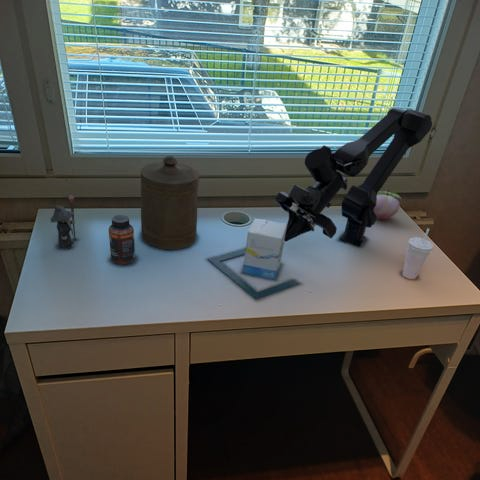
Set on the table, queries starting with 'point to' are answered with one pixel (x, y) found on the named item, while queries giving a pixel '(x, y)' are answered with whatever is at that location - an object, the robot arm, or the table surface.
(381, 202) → the decorative fruit
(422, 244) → the smoothie
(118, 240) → the supplement bottle
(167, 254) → the table surface
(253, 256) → the ink box
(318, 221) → the robot arm
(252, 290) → the frame
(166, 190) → the wooden container
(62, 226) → the wizard figurine
